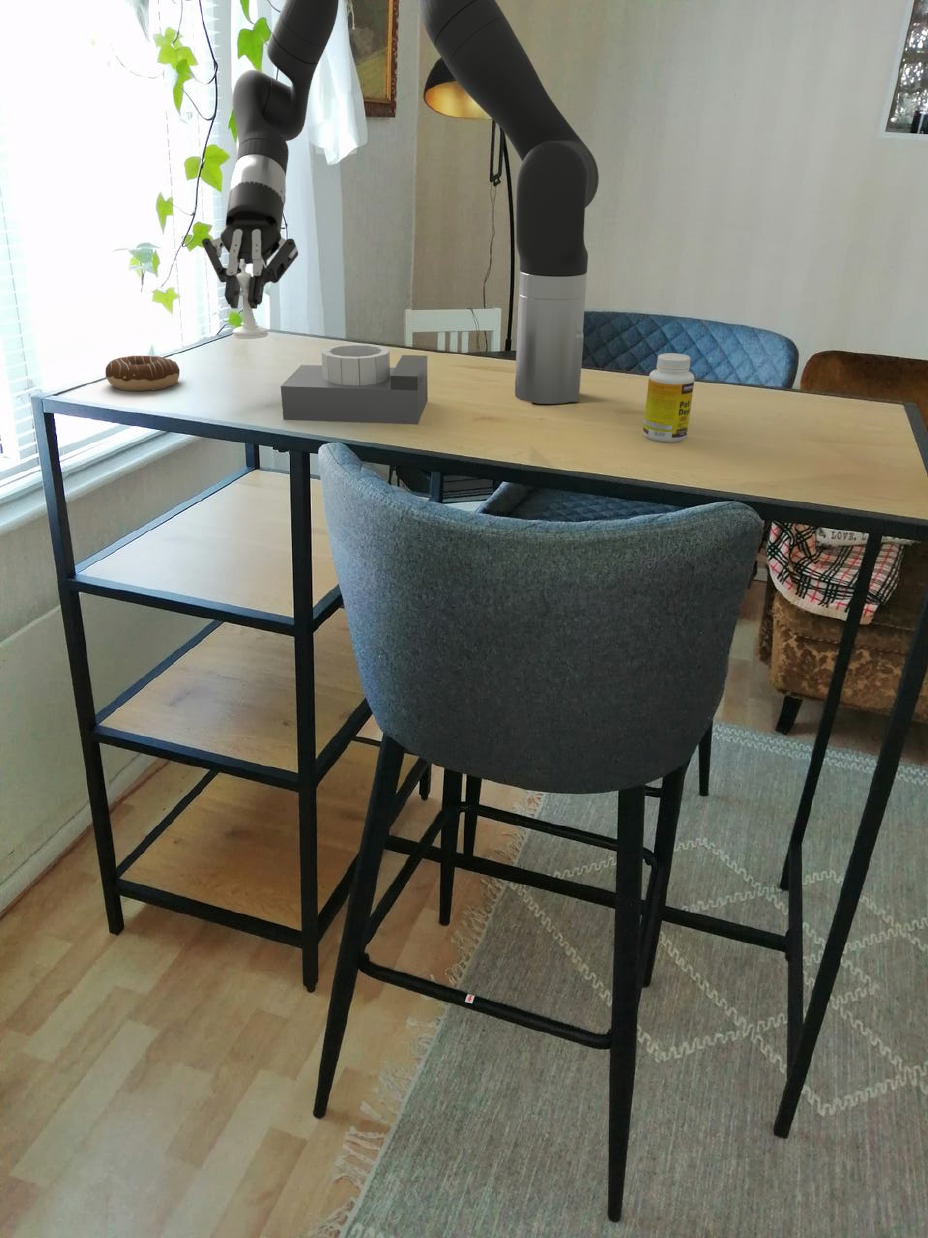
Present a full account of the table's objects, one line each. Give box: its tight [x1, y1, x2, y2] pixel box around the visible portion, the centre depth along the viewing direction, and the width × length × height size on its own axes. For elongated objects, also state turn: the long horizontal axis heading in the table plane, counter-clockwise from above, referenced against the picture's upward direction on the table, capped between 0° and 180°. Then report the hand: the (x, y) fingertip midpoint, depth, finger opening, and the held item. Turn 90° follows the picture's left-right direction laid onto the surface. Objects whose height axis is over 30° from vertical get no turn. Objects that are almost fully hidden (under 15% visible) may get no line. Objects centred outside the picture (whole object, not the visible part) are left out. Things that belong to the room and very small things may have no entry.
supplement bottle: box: [642, 352, 695, 443], centre depth 116 cm, size 6×6×10 cm
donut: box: [105, 355, 181, 392], centre depth 138 cm, size 11×11×4 cm
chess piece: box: [231, 259, 269, 340], centre depth 127 cm, size 5×5×10 cm
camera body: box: [280, 343, 429, 425], centre depth 126 cm, size 18×12×8 cm, turn 86°
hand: (242, 304), depth 126 cm, fingers closed on chess piece
